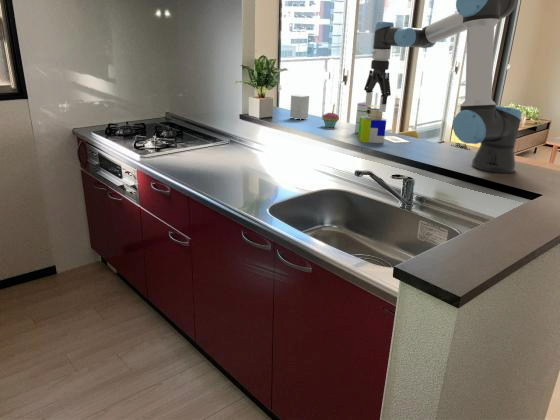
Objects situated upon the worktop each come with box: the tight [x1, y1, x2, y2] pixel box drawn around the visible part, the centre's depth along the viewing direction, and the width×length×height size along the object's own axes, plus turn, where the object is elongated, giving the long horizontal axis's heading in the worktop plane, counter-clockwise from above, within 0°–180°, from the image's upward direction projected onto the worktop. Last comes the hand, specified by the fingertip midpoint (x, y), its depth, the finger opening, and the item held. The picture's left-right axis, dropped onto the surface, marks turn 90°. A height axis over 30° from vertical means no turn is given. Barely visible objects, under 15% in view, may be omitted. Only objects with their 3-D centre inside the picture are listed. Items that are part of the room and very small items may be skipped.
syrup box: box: [354, 101, 370, 134], centre depth 236 cm, size 6×6×14 cm
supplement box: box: [289, 94, 310, 121], centre depth 263 cm, size 7×7×13 cm
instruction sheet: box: [384, 135, 410, 144], centre depth 225 cm, size 13×9×1 cm
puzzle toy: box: [357, 116, 387, 144], centre depth 219 cm, size 10×10×10 cm
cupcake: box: [321, 102, 340, 128], centre depth 245 cm, size 9×8×12 cm
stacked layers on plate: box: [361, 104, 387, 121], centre depth 217 cm, size 10×9×6 cm
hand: (374, 109), depth 216 cm, fingers open, 13 cm apart
